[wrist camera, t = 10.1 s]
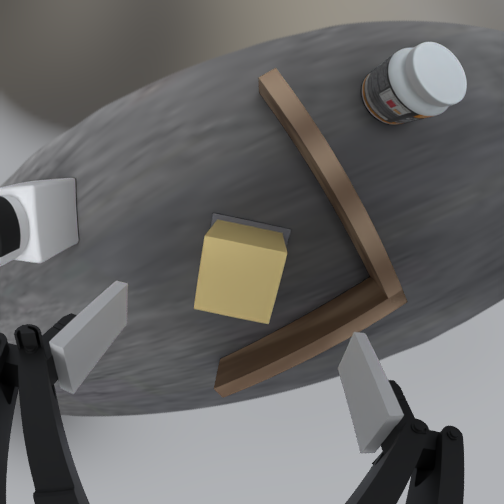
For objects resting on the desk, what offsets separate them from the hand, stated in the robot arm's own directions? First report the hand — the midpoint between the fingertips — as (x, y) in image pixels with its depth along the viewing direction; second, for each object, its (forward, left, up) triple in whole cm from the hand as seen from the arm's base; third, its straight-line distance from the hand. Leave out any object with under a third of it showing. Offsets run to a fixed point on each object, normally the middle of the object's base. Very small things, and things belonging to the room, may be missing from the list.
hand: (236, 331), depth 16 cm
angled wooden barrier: (+1, -1, -13) cm, 13 cm away
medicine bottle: (+16, +15, -13) cm, 26 cm away
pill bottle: (+6, -20, -13) cm, 24 cm away
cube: (0, 0, -12) cm, 12 cm away
